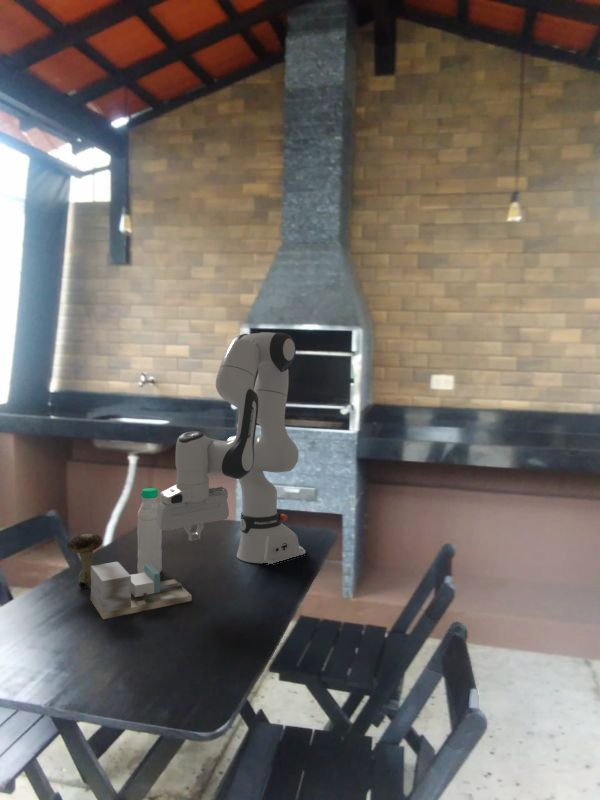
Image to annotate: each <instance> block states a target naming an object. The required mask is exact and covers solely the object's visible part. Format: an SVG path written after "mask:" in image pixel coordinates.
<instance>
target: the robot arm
mask: <svg viewBox="0 0 600 800" xmlns="http://www.w3.org/2000/svg"><path fill="white" fill-rule="evenodd" d="M296 347H297V346H296V342H295V341H294V339H293V337H292V336H291V335H290V334H287V333H284V332H269V331H267V332H265V331H261V332H255V333H242V334H238V335H237V336H235V337H234V339H232V341H231V343H230V345H229V346H228V348H227V350H226V351H225V353H224V355H223V358H222V360H221V363H220V365H219V368H218V371H217V374H216V379H215V388H216V391H217V393H218V394H219V396H220V397H221V398H222V399H223V400H224V401H226V402H227V403H229V404H231V405H232V406H234V407H236V408H237V410H238V419H237V420H238V421H237V427H236V434H235V435H231V436H229V437H228V438H227V439H226V440H219V439H214V438H210V437H208V436H206V434H205V433H204V432H202V431H198V430H195V431H194V430H193V431H187V432H184V433H182V434H181V435H179V436H178V438H177V440H176V445H175V456H174V457H175V468H176V480H175V482H176V483H175V484H174V485H173V486H170V487H168V488H167V489H164V490H162V491H160V492H159V493H158V497H159V500H160V502H158V508H157V526H158V527H159V528H160V529H161V530H162V532H166V531H171V530H176V529H180V528H181V529H182V528H183V529H184V530H185V532H186V533H187V538H188V541H189V542H192V541H197V540H201V533H202V532H203V529H204V527H205V524H208V523H213V522H218V521H222V520H227V519H228V517H229V515H230V512H229V504H228V503H229V502H228V499H229V498H228V490H227V488H225V487H223V486H218V487H211V488H210V484H209V482H210V479H209V475H208V474H213V475H219V476H226V477H229V478H232V479H236V480H238V481H239V482H238V483H239V484H240V485H239V486H240V489H241V502H242V503H241V505H242V507H241V510H242V511H241V513H240V533H241V534H240V540H239V544H238V549H237V553H236V558H237V559H239V560H240V561H243V562H246V563H250V564H251V563H253V564H263V563H268V564H267V565H269V564H273V563H276V562H279V561H283V560H286V559H289V558H292V557H296V556H299V555H303V554H305V553H306V550H305V549H304V548H303V547H302V546H301V545H300V543H299V539H298V538H299V537H298V535H297V534H296V533H295V531H293V530H291V529H290V528H289V527H288V526H286V525H285V524H284V523H282V521H283V522H286V521H287V520H288V515H287V514H285V513H280V512H278V511H277V509H278V508H277V507H278V491H277V488H276V487H275V485H274V484H273V483H272V482H271V481H269V480H268V479H267V478H266V476H265V474H264V472H269V473H287V472H291V471H292V470H294V469H295V467H296V466H297V464H298V461H299V457H300V456H299V450H298V447H297V445H296V443H295V442H294V441H293V440H292V439H291V437H290V436H289V434H288V432H287V428H286V423H285V419H286V418H285V416H286V407H287V401H288V393H289V385H290V384H289V383H290V382H289V379H290V378H289V377H290V376H289V368H290V366H291V364H292V363H293V361H294V359H295V357H296V350H297V348H296ZM257 424H258V425H259V426H260V432H261V433H260V435H256V431H257ZM193 526H197V527H196V531H193V532H192V531H191V530H192V527H193ZM273 565H274V564H273Z"/></svg>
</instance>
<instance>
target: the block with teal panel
mask: <svg viewBox="0 0 600 800" xmlns="http://www.w3.org/2000/svg"><path fill="white" fill-rule="evenodd" d="M144 566H145V572H143V573H138V572H137V573H134V574H133V573H132V574H129V575H130V576H131V593H132V594H133V595H134V596H135V597H138V596H143V595H144V596H145V597H146V598H149V596H148V594H153V593H158V592H160V582H161V572H160V573H159V572H158V571H157V570H156V569H155V568H154V567H153V566H152V565H151V564H148V565H144Z"/></svg>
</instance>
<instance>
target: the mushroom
mask: <svg viewBox="0 0 600 800" xmlns="http://www.w3.org/2000/svg"><path fill="white" fill-rule="evenodd" d="M103 541H104V540H103V538H102V536H101V535H99V534H97V533H84V534H79V535H76V536H74V537H73V538H72V539H70V540H69V541H68V542H67V544H66V549H67V551H69V552H70V553H71V552H72V553H77V554H79V556H80V562H81V570H80V572H79V574H78V578H77V582H78V583H77V585H78V587H79V589H89V588H90V587H91V566H93V565H95V563H94V551H95V550H97V549H98V548H100V547H101V546H102V544H103Z"/></svg>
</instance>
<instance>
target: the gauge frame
mask: <svg viewBox="0 0 600 800" xmlns="http://www.w3.org/2000/svg"><path fill="white" fill-rule="evenodd" d="M130 575H131V574H130V573H129V572H128V571H127V570H126V568H125V567H123V565H122V564H121V563H120V562H119V561H112V562H107V563H101V564H100V563H99V564H94V565H93V566H91V584H90V602H91V601H92V602H91V603H92V604H93V606H94V607H95V609H96V611H97V612H98V614H99V615H100V617H101V618H102V620H106V619H113V618H116V617H121V616H126V615H132V614H135V613H140V612H145V611H149V610H154V609H159V608H160V609H161V608H163V607H164V608H165V607H169V606H174V605H178V604H183V603H188V602H192V600H193V599H192V596H193V595H192V594H191V592H189V591H188V590H187V589H186V588H184V587H183V584H182V583H181V582H178V581H177V580H176V579H174V578H173V579H167V580H163V581H160V592H158V593H153V594H148V596H149V598H146V597H145V596H144V595H143V596H138V597H135V596H134V595H133V594H132V593H131V576H130Z"/></svg>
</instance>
